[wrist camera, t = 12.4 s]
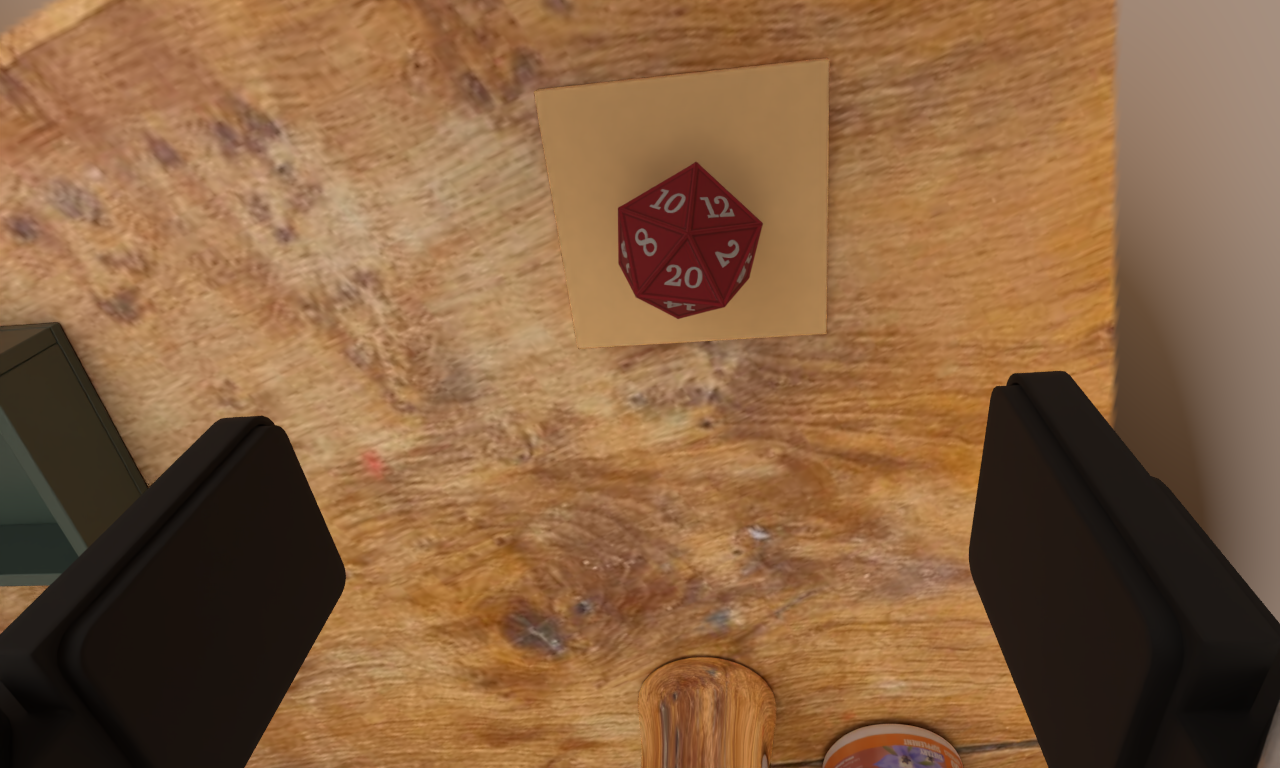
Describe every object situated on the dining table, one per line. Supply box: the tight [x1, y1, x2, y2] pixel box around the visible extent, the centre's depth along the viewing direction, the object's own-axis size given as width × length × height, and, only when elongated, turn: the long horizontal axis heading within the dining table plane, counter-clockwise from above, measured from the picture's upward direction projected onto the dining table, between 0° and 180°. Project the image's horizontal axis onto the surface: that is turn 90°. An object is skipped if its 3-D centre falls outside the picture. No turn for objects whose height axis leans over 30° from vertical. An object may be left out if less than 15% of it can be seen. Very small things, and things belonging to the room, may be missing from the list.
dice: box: [618, 162, 763, 319], centre depth 20 cm, size 4×4×4 cm
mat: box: [534, 58, 830, 349], centre depth 22 cm, size 8×8×1 cm
